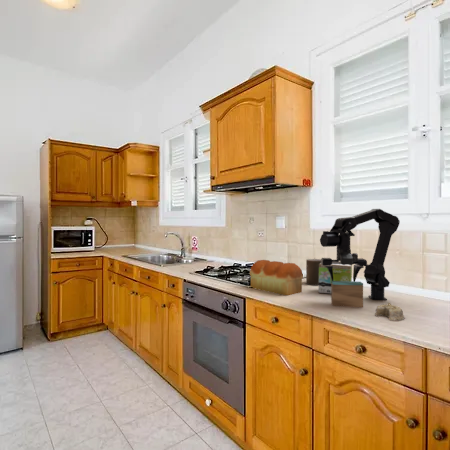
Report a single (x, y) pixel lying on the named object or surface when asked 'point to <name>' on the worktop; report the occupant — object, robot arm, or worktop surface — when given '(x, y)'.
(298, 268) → the bread
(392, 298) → the worktop surface
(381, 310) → the cake
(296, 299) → the worktop surface
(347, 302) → the slab
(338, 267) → the tea box
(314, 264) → the pillar candle
